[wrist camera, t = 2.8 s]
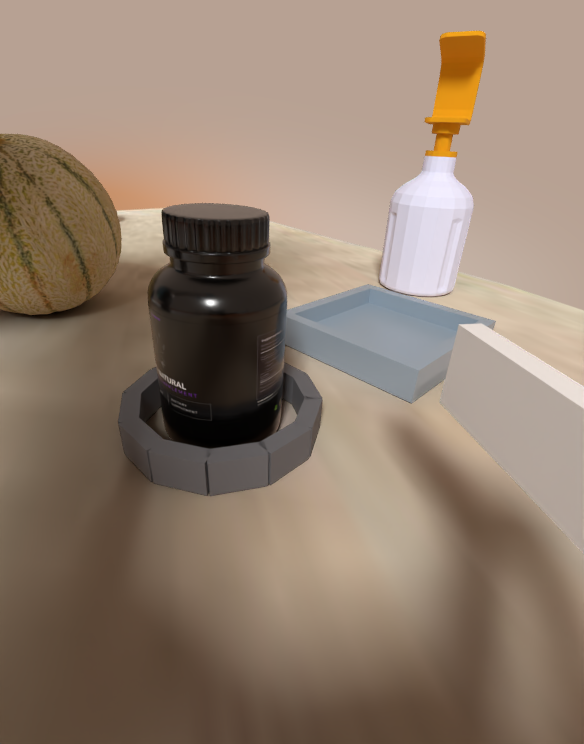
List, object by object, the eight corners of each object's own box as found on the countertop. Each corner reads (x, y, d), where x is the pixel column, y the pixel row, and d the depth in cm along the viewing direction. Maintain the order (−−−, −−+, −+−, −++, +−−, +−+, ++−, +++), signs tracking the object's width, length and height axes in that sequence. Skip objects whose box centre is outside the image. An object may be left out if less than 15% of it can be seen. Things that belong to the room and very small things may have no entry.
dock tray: (276, 340, 35) (277, 313, 33) (364, 307, 43) (368, 284, 42) (411, 403, 27) (419, 370, 26) (487, 347, 35) (495, 321, 34)
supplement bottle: (141, 450, 22) (98, 213, 16) (195, 386, 28) (178, 196, 22) (264, 474, 21) (267, 227, 15) (293, 402, 26) (303, 205, 21)
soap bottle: (370, 289, 49) (407, 26, 37) (388, 272, 56) (424, 48, 44) (447, 303, 45) (515, 19, 33) (456, 283, 53) (515, 44, 41)
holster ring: (92, 420, 24) (85, 391, 23) (238, 362, 31) (237, 338, 30) (200, 533, 17) (197, 499, 16) (354, 427, 24) (358, 399, 23)
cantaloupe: (114, 279, 48) (89, 132, 40) (149, 321, 37) (123, 132, 30) (-41, 296, 41) (-106, 121, 33) (-52, 355, 30) (-152, 116, 23)
